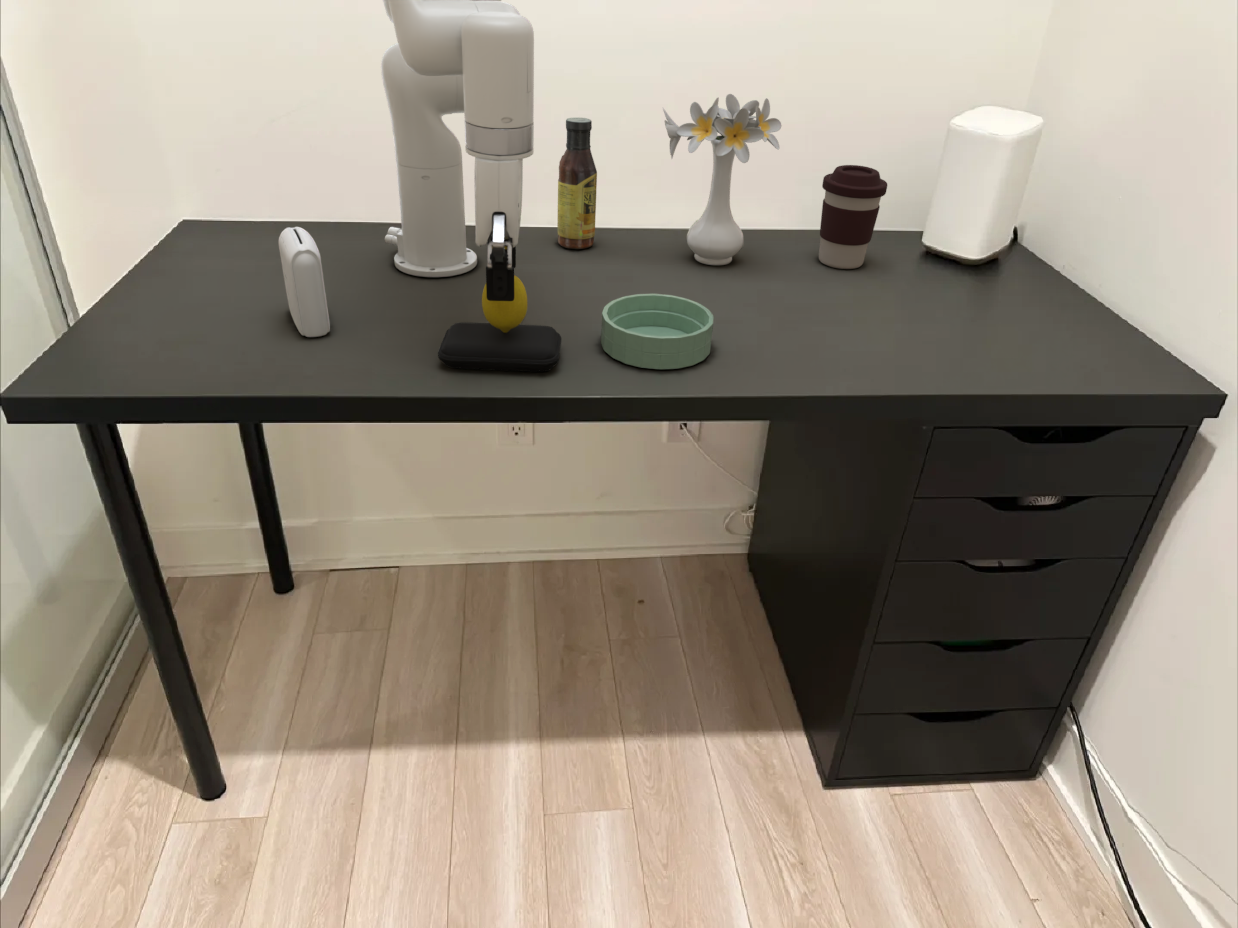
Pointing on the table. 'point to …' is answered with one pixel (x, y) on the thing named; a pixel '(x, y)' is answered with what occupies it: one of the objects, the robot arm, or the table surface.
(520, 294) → the lemon
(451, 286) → the table surface
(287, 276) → the photo printer
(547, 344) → the carrying case
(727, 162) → the flower vase
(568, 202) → the sauce bottle
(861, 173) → the coffee cup
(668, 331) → the fruit bowl
